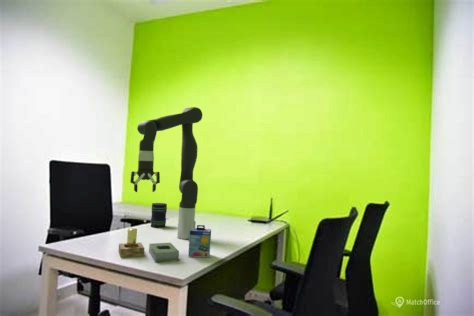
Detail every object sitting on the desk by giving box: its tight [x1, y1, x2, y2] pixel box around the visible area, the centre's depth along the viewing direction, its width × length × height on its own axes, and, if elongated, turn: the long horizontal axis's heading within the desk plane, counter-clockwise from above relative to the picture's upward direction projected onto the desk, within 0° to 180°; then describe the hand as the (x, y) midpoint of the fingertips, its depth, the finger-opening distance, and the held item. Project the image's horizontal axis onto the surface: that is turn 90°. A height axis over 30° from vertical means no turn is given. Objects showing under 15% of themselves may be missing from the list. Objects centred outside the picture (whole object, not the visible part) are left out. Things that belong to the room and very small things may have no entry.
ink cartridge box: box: [187, 224, 212, 259], centre depth 146 cm, size 10×6×14 cm, turn 95°
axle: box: [126, 228, 138, 248], centre depth 144 cm, size 4×4×10 cm
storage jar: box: [150, 202, 168, 229], centre depth 208 cm, size 10×10×15 cm
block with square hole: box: [148, 242, 180, 263], centre depth 142 cm, size 10×16×4 cm, turn 25°
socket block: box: [118, 242, 145, 258], centre depth 144 cm, size 10×10×4 cm
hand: (144, 191), depth 160 cm, fingers open, 8 cm apart
